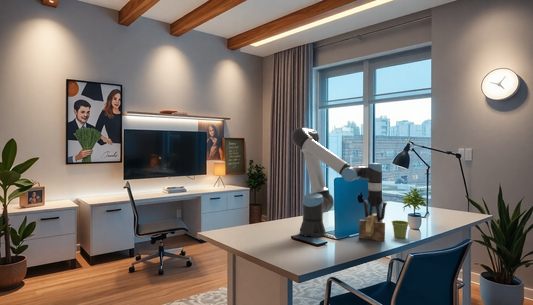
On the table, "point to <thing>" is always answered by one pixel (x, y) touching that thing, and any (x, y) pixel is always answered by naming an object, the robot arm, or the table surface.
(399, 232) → the plant pot
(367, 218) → the oak board
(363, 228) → the wooden u-shaped block
